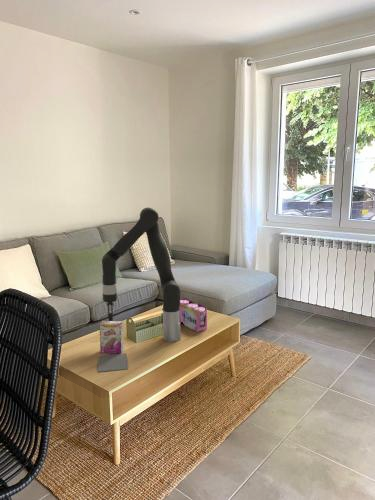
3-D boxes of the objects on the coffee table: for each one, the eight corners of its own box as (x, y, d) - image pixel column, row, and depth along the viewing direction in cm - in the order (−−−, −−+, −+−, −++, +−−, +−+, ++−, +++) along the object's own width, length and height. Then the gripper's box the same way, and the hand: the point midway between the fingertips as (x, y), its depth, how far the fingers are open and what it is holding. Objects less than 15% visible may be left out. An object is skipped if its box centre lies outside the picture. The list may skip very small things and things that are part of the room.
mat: (126, 353, 201) (126, 353, 201) (127, 369, 186) (127, 368, 185) (98, 356, 198) (98, 355, 198) (97, 372, 183) (97, 371, 183)
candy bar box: (100, 353, 201) (98, 324, 198) (103, 349, 206) (101, 320, 203) (121, 354, 200) (120, 324, 197) (123, 350, 205) (122, 320, 202)
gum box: (208, 329, 231) (209, 308, 228) (198, 333, 226) (198, 311, 224) (185, 317, 250) (185, 297, 247) (175, 320, 245) (174, 300, 242)
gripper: (117, 295, 200) (118, 327, 203) (116, 287, 212) (117, 317, 216) (102, 296, 198) (103, 328, 202) (102, 288, 211) (103, 318, 214)
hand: (110, 322), depth 209 cm, fingers closed
